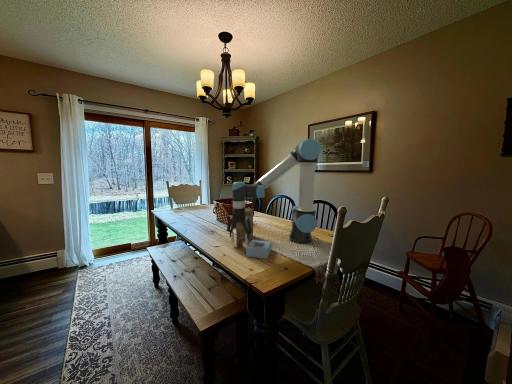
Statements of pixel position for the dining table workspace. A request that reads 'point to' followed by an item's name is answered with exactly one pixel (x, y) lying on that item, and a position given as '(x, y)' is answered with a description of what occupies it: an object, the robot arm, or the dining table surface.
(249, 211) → the wooden block
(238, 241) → the walnut peg
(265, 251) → the socket block
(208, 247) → the dining table surface
